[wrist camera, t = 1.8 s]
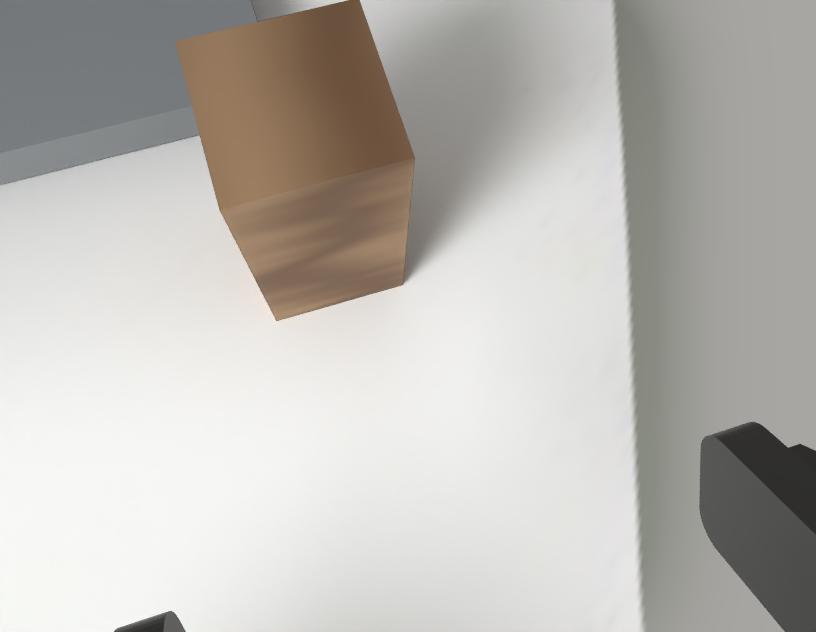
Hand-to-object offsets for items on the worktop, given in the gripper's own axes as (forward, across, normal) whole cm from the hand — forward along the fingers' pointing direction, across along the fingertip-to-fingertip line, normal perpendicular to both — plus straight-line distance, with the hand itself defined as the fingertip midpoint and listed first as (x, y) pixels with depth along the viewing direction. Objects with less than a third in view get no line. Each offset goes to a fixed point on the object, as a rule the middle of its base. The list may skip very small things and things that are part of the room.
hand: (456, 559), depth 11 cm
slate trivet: (+27, +6, -6) cm, 29 cm away
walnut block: (+19, 0, +2) cm, 19 cm away
